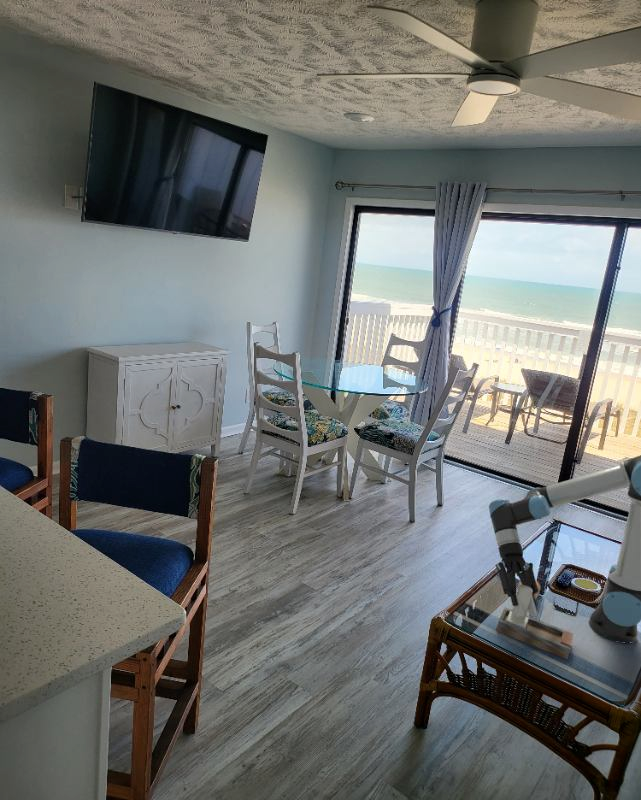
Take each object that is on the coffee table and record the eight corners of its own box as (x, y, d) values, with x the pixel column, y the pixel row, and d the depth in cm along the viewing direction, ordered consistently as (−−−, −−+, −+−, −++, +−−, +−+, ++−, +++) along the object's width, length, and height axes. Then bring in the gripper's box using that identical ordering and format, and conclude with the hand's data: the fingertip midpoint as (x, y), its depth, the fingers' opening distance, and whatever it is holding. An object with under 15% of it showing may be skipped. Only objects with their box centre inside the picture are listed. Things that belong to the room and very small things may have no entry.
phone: (578, 598, 229) (576, 614, 216) (577, 600, 230) (575, 617, 216) (556, 590, 233) (552, 606, 219) (556, 593, 233) (552, 608, 219)
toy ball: (542, 604, 220) (547, 584, 219) (524, 605, 218) (529, 584, 216) (528, 593, 228) (533, 573, 226) (511, 593, 225) (516, 573, 224)
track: (570, 643, 197) (573, 632, 197) (567, 659, 188) (570, 647, 187) (502, 616, 207) (505, 605, 206) (496, 630, 197) (499, 619, 196)
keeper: (527, 622, 201) (536, 587, 199) (524, 631, 195) (533, 596, 192) (509, 615, 204) (518, 581, 201) (505, 624, 197) (514, 589, 195)
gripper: (523, 549, 213) (542, 618, 201) (481, 547, 207) (497, 619, 195) (537, 541, 207) (557, 613, 195) (493, 540, 201) (511, 613, 189)
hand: (527, 616), depth 195 cm, fingers closed on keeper, 4 cm apart
